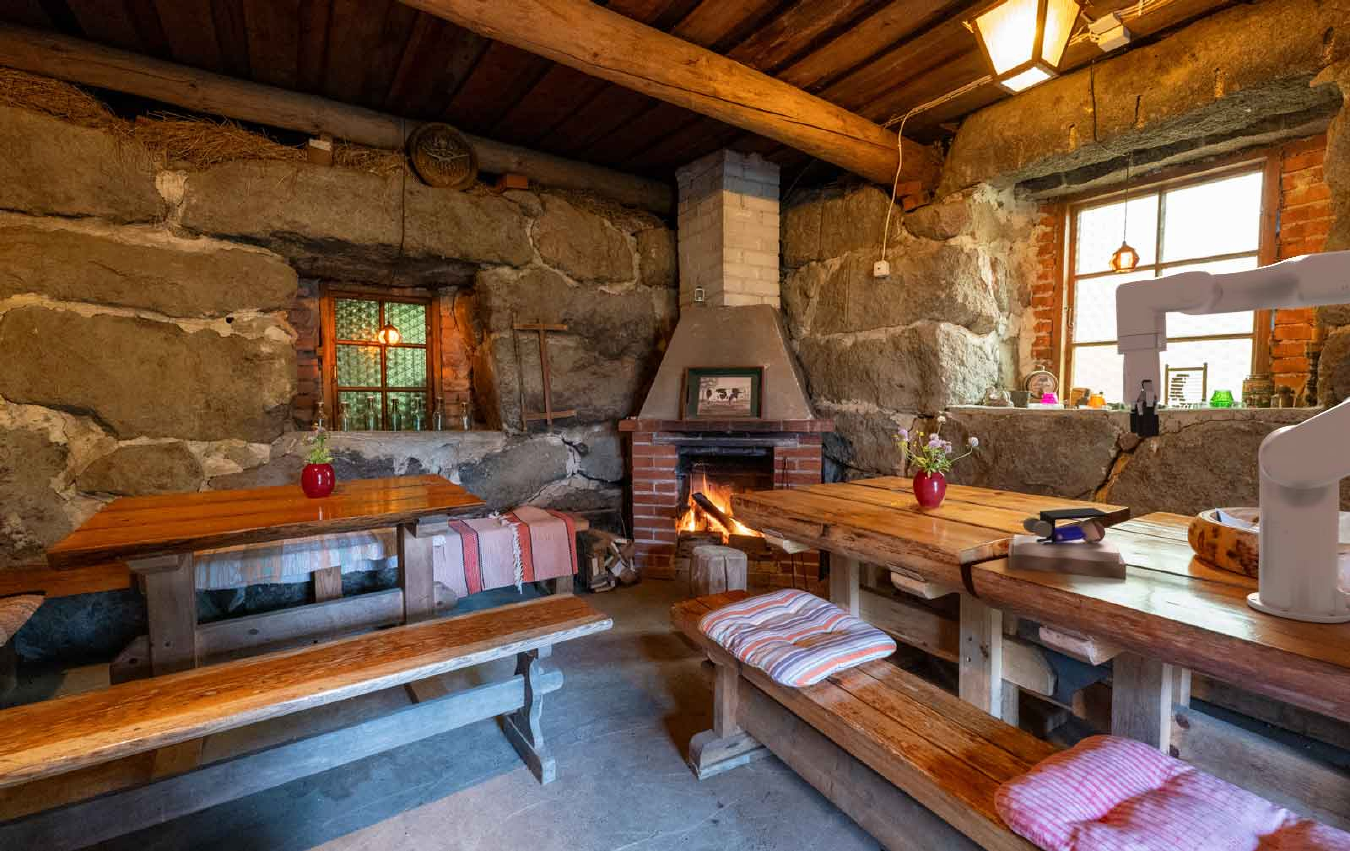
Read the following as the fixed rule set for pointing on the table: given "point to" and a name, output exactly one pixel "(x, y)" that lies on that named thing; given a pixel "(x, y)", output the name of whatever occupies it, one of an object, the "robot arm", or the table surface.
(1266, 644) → the table surface
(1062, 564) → the plinth
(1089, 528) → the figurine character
